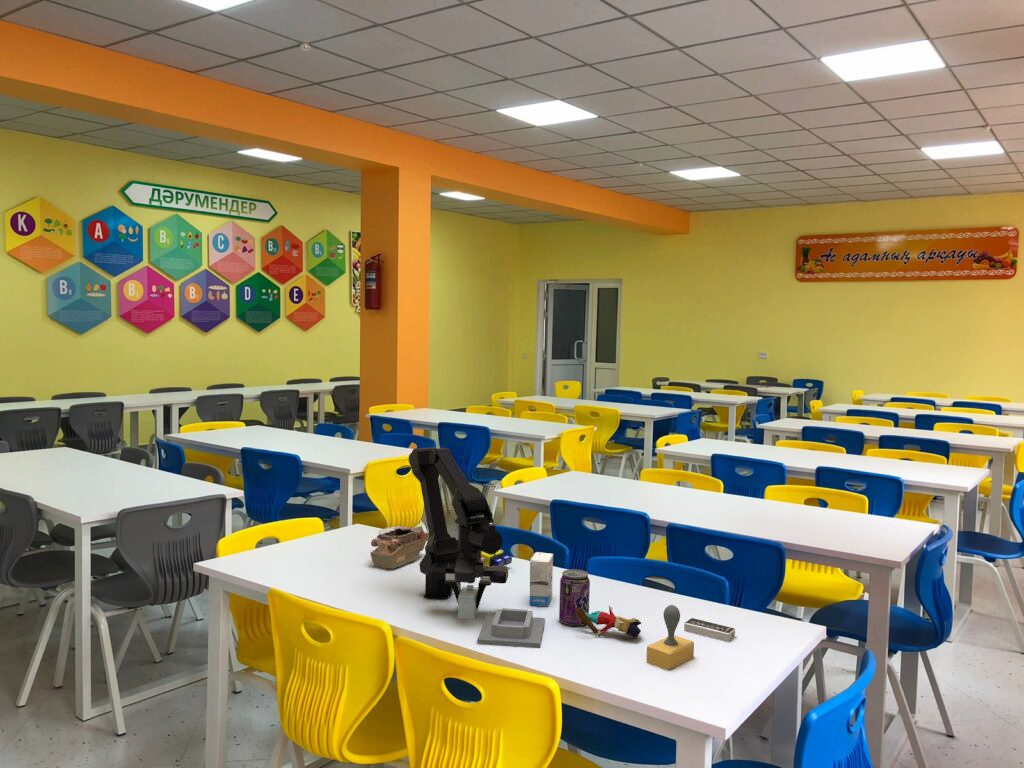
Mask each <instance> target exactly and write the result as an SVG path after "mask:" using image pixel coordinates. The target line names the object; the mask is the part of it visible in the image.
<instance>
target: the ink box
mask: <svg viewBox="0 0 1024 768" xmlns="http://www.w3.org/2000/svg"><path fill="white" fill-rule="evenodd" d="M553 564H554V553H547V552H541V551H540V552H539V551H536V552H535V553H534V554H533V555H532V557H530V561H529V606H530V607H531V606H534V607H535V606H536V607H549V605H550V603H551V600H552V599H553V576H554V575H553V571H554V570H553V569H554V568H553V567H554V565H553Z"/></svg>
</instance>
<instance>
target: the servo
mask: <svg viewBox="0 0 1024 768" xmlns="http://www.w3.org/2000/svg"><path fill="white" fill-rule="evenodd" d="M477 594H478V586H474V584H467V585H466V586H464V585H463V587H461V592H460V593H459V595H458V603H457V618H458V617H459V618H458V619H473V620H474V619H476V616H477V614H478V611H479V607H478V608H476V601H477Z"/></svg>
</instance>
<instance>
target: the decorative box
mask: <svg viewBox="0 0 1024 768" xmlns="http://www.w3.org/2000/svg"><path fill="white" fill-rule="evenodd" d="M428 538H429V532H426V531H423V530H420V529H417V530H416V529H415V528H413V527H412V528H411V527H408V526H389V527H386V528H384V529H381V530H379V531H378V535H377V536H376V538H373V539H372V540H371V542H370V545H371V547H374V548H375V547H376V548H375V549H374V550H372V551H370V559H371V561H372V564H373V566H374V567H377V568H378V567H379V568H382V569H383V570H386V569H395V568H397V567H401V566H403V565H406V564H407V563H410V562H413V561H415V560H418V558H419V555H420V553H421V552H423V551H424V550H425V546H426V544H427V541H428Z"/></svg>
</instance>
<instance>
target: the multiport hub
mask: <svg viewBox="0 0 1024 768" xmlns="http://www.w3.org/2000/svg"><path fill="white" fill-rule="evenodd" d="M683 627H684V628H683V630H684V632H687V633H690V634H695V635H699V636H702V637H707V638H710V639H714V640H719V641H722V642H727V643H729V642H731V641H732V640H734V639H735V637H736V628H734V627H730V626H727V625H722V624H719V623H715V622H711V621H707V620H703V619H699V618H698V619H697V618H695V617H694V618H693V617H690V618H689V619H688V620H686V621H684V626H683Z"/></svg>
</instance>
